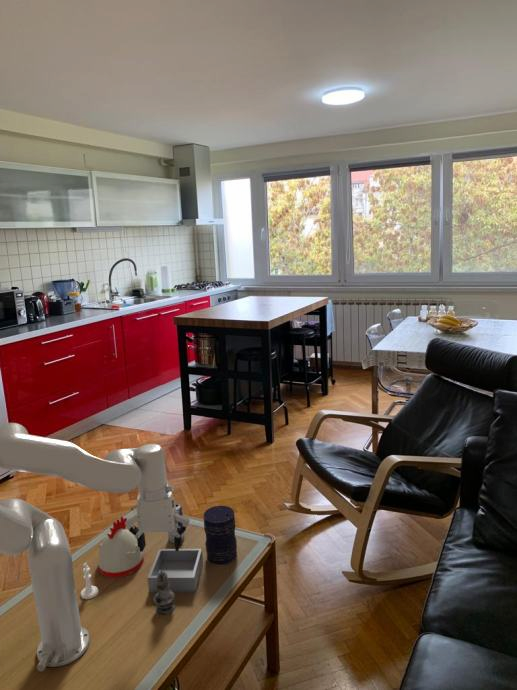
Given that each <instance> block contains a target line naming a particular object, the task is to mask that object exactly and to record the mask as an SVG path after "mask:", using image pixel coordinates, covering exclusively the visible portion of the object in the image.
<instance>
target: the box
mask: <svg viewBox="0 0 517 690" xmlns="http://www.w3.org/2000/svg"><path fill="white" fill-rule="evenodd" d="M203 557H204V556H203V549H202V548H179V550H178V551H175V548H159V549H158V551H157V553H156V556H155V559H153V560H154V561H153V563H152V565H151V567H150V568H151V569H150V570H149V573H148V576H147V586H148V592H149V594H152V593H153V594H157V593H158V589H157V584H158V582H157V575H158V574H159V573H160V572H161V570H162V571H163V572H165V573H166V574H167V578H168V582H169V584H170V585H169V590H171V591H173V592H174V594H179V593H181V594H182V593H185V594H187V593H189V594H191V593H192V594H195V593H196V591H197V588H198V583H199V580H200V577H201V572H202V568H203V564H204V559H203Z"/></svg>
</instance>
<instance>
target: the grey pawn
mask: <svg viewBox="0 0 517 690" xmlns="http://www.w3.org/2000/svg"><path fill="white" fill-rule="evenodd" d="M157 582H158V584H157V589H158V593H155V595H154V596H153V602H154V604H155V605H156V607H155V612H156V614H157V615H159V616H167V615H170V614H171V613H173V612H174V610H175V609H176V605H175V603H174V601H175V598H176V593H174V592H173V591H171V590H169V585H170V584H169V582H168V578H167V574H166V573H165V572H163V571H162V570H161V572H160V573H159V574H158V575H157Z"/></svg>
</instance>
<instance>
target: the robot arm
mask: <svg viewBox="0 0 517 690" xmlns="http://www.w3.org/2000/svg"><path fill="white" fill-rule="evenodd" d="M0 468H1V469H4V470H8V471H13V472H22V473H30V474H37V475H43V476H50V477H57V478H59V479H63V480H66V481H67V482H70V483H73V484H76V485H79V486H81V487H84V488H88V489H90V490H93V491H98V492H104V493H105V492H106V493H113V494H127V493H130V492H133V491H135V490H137V488H138V495H137V500H136V515H133V516H132V517H129V518H127V521H126V522H125V525H126V528H127V530H128V529H129V531H130V532H131V533H132V534H133V535H134V536H135V538H137V543H138V547H140V552H142V551H143V552H144V549H145V547H146V545H147V543H146V538H145V537H146V536H145V533H168V532H171V533H173V534H174V535H175V537H174V542H173V543H174V549H175V551H178V550H179V549H180V547H182V545H183V540H182V538H181V535H182V534H183V533H184V534H185V532H186V530H187V528H188V526H189V523H190V520H191V519H190V518H188V517H185V516H181V515H179V514H177V510H176V506H175V503H176V502H175V498H174V495H173V492H174V485H169V481H168V476H167V467H166V457H165V451H164V448H163V447H162V446H161V445H160V444H157V443H146V444H143V445H141V446H139V447H129V448H118V449H114V450H111V451H109V452H108V453H106V455H105V456H104V457H103V458H100V457H97V456H94V455H92V454H90V453H88V452H87V451H85V450H84V449H82V448H81V447H79V446H78V445H77V444H75V443H73V442H71V441H69V440H63V439H56V438H52V437H51V438H50V437H45V436H40V435H33V434H29V432H28V430H27V428H26V427H25V426H23V425H22V424H20V423H17V422H6V423H4V424H1V425H0ZM178 521H179V522H181V523H183V525H182V526H181V527H179V526H178V525H177V524H176V523H177V522H178ZM134 523H136V524H137V526H136V525H135V524H134ZM25 551H26V556H27V564H28V565H27V566H28V571H29V576H30V580H31V586H32V591H33V592H32V593H33V598H34V604H35V610H36V615H37V621H38V626H39V632H40V633H39V634H40V639H41V641H40V642H39V643H38V646H37V648H36V656H37V661H38V664H37V666H36V669H37V671H38V672H43V671H45V669H46V668H47V667H49V668H51V667H52V668H57V667H62V666H66V665H69V664H71V663H72V662H74V661H75V660H78V659H79V658H80V657H81V656H82V655H83V654H85V652H86V650H87V649H88V647H89V645H90V633H89V631H88V630H87V629H86V628H85V627H83V626H82V623H81V618H80V617H81V616H80V609H79V604H78V603H79V602H78V597H77V590H76V582H75V577H74V576H75V575H74V567H73V565H74V564H73V555H72V550H71V548H70V543H69V540H68V538H67V535H66V530H65V529H64V526H63V524H62V523H61V522H60V521H59V520H58V519H57V518H55V517H53V516H52V515H50V514H48V513H46V512H45V511H43V510H41V509H39V508H38V507H37V506H34V505H32V504H31V503H29V502H27V501H25V500H24V499H20V498H13V497H12V498H5V499H2V500H1V501H0V553H1V554H3V555H6V556H17V555H20V554H22V553H23V552H25Z"/></svg>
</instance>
